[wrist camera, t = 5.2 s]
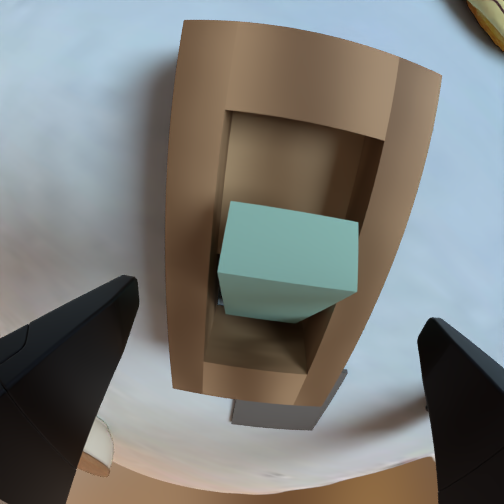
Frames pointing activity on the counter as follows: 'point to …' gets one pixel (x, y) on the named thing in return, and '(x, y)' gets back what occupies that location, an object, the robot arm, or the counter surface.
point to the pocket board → (284, 191)
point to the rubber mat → (282, 412)
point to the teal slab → (285, 262)
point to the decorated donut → (490, 18)
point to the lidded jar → (97, 450)
